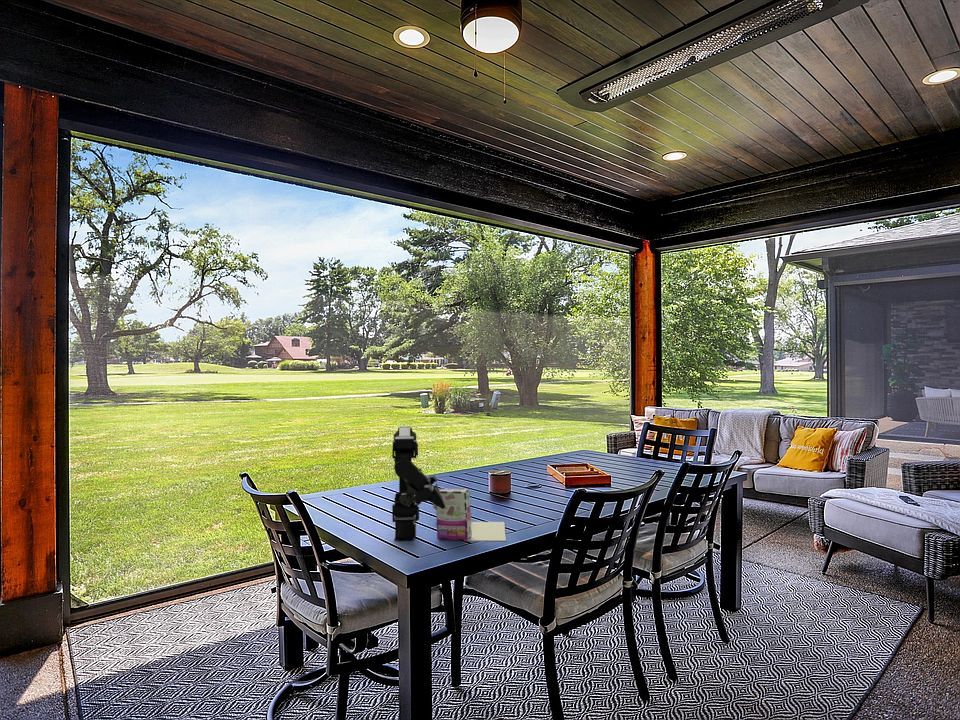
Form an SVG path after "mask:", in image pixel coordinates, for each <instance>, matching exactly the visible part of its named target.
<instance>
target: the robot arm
mask: <svg viewBox="0 0 960 720" xmlns="http://www.w3.org/2000/svg"><path fill="white" fill-rule="evenodd" d="M391 454H392V455H391V458H392V459H393V461H394V467H393V468H394V473H395V474H396V476H397V477H398V478H399V481H398V482H399V483H398V485H399V487H398V490H399V491H398V492H396V493H395V495H394V503H392V505H391V507H392V508H391V509H392V511H391V512H392V513H391V515H392V523H394V532H395V533H394V539H393V540H394V541H395V542H396V541H401V542H403V541H405V542H407V541H408V542H409V541H414V540H415V538H416V536H417V523H415V522H418V521H419V520H420V505H421V504H422V503H424V502H430V503H432V505H433V504H435V505H437V506H438V507H440V508H442V509H444V508H445V504H444V502H443V499H442V497H441V494H440V491H439V489H440V488H439V487H438V484H437V483H436V482H438V477H436V475H434V474H433V475H432V474H430V475H428V477H427V476H426V475H425V474H424V473H423V472H422V471H423V470H422V469H421V468H419V467H418V466H417V465H416V464H415V463H414V462H413V461H412V459H416V458H417V457H418V456H419V443H418V442H417V433H416V432H414V431H413V427H412V426H410V425H408V426H406V425H405V426H399V427H397V431H396V432H395V433H394V434H393V440H392V453H391ZM435 483H436V484H435ZM434 484H435V485H434ZM433 485H434V486H433Z"/></svg>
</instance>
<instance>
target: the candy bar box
mask: <svg viewBox="0 0 960 720" xmlns="http://www.w3.org/2000/svg"><path fill="white" fill-rule="evenodd" d="M438 489H439V491H440V494H441V497H442V499H443V502H444V504H445V508H444V509H442V508H440V507H438V506H437V505H436V510H435V513H436V516H435V517H436V532H437V533H436V536H437V537H436V538H437V539H438V540H452V541H453V540H455V541H464V540H468V539H469V538H471V537H472V530H471V522H472V513H471V511H472V510H471V490H470V488H438Z"/></svg>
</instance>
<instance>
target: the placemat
mask: <svg viewBox="0 0 960 720" xmlns="http://www.w3.org/2000/svg"><path fill="white" fill-rule="evenodd" d="M505 525H506V524H505V521H471V530H472V537H471V538H469V539H468V540H463V541H464V542H506V541H507V538H506V526H505Z"/></svg>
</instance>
